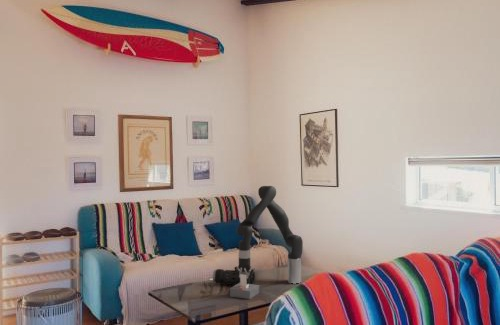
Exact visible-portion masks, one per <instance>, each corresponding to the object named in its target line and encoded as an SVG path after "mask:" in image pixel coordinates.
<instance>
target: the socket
mask: <svg viewBox="0 0 500 325" xmlns="http://www.w3.org/2000/svg"><path fill="white" fill-rule="evenodd" d="M258 294H260V285H259V284H255V283H254V284H249V287H248V288H243V287H240V283H238V284H234V285H233V286H231V287H230V288H229V297H232V298H240V299H245V300H251V299H253V298H254V297H255V296H257V295H258Z"/></svg>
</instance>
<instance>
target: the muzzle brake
mask: <svg viewBox="0 0 500 325" xmlns="http://www.w3.org/2000/svg"><path fill="white" fill-rule="evenodd" d="M239 273H240V270H239ZM249 273H251V271H250V270H249ZM255 279H256V273H255V271H254V273H253V276H252V277H251V278H250V283H249V284H254V285H255V283H256V280H255ZM212 282H213V283H216V284H222V285H225V286H227V285H229V284H230V285H236V284H238V283H240V282H239V276H237V275H236V272H235V269H233V270H232V269H223V268H217V269H214V270H213V272H212Z"/></svg>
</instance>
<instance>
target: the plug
mask: <svg viewBox="0 0 500 325" xmlns="http://www.w3.org/2000/svg"><path fill="white" fill-rule="evenodd" d="M247 273H248V272H247ZM240 287H243V288H248V287H249V284H247V275H246V272H240Z"/></svg>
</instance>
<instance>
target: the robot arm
mask: <svg viewBox="0 0 500 325" xmlns="http://www.w3.org/2000/svg"><path fill="white" fill-rule="evenodd" d="M276 195H277V189H276V188H275V186H272V185H262V186H260V187H259V188H258V196H259V198H260V199H261V200H260V201H259V202H258V203H256V205H254V207H253V208H252V209H250V211H249V212H248V214H247V216H246V218H245V219H244V220H242V221H241V223H239V224H238V226H237V228H236V234H237V235H238V236H240V237H243V239H241V240H239V242H238V265H237V266H235V267H234V270H235V272H236V275H237V276H239V282H240V273H239V271H240V272H246V275H247V284H249V283H250V278H251V277H252V276H253V273H254V272H255V270H256V269H255V268H254V267H252V266H251V241H252V236H253V229H252V226H255V224H256V223H257V222H258V220H259V218H260V217H261V215H262V213H263V212H264V211H265V210H266V208H267V210H268V212H269V214H270V215H271V217H272V219H273V222H275V224H276V226H277V228H278V230H279V231H280V233H281V236H282V238H283V240H284V242H285V244H286V246H287V247H289V248H291V252H288V253H287V283H289V284H291V283H293V284H292V285H297V284H296V283H299V284H301V283H302V255H303V245H304V244H303V239H302V237H301V236H300V235H296V234H294V233H293V232H292V230H291V228H290V226H289V224H290V221H289V217H288V215H287V214H286V211H285V210H284V209H283V207H281V206H280V205H279V204H278V203H277V202H276V201H275V200H274V199H275V197H276ZM249 271H251V273H249ZM247 272H248V273H247ZM300 282H301V283H300Z"/></svg>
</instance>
